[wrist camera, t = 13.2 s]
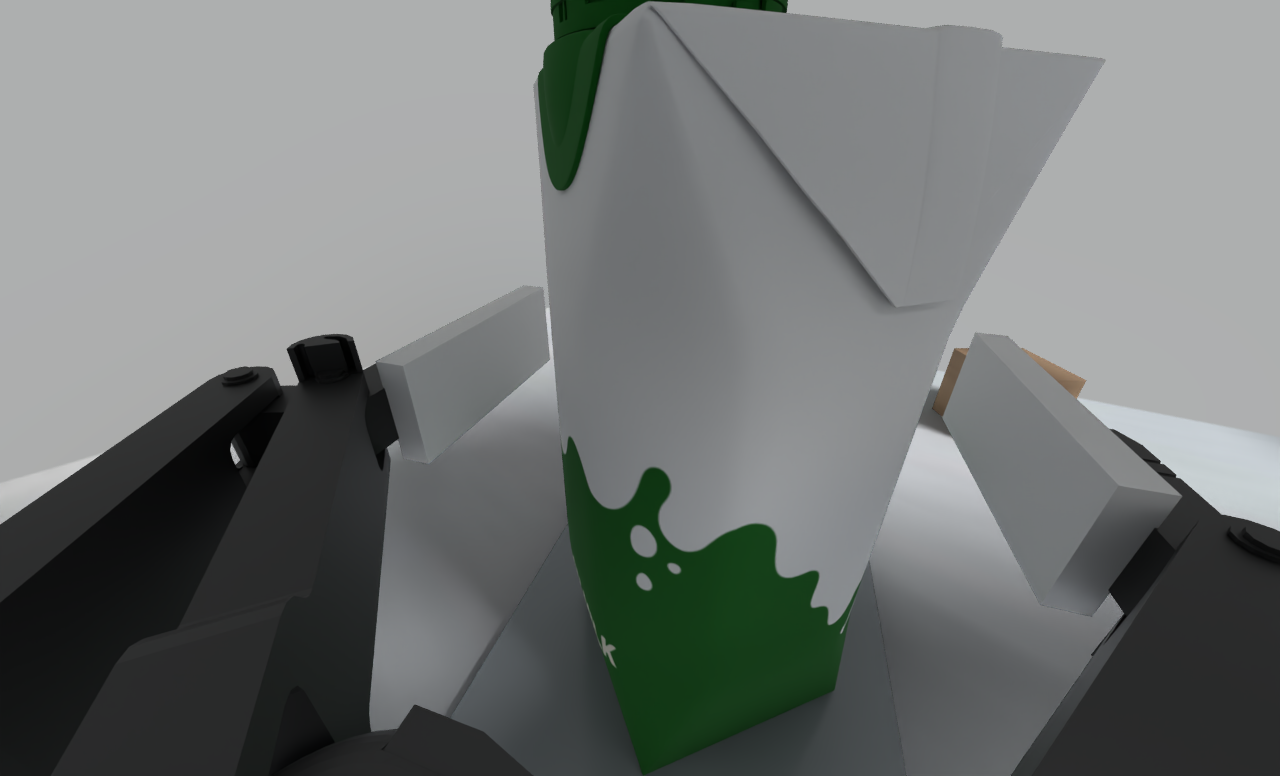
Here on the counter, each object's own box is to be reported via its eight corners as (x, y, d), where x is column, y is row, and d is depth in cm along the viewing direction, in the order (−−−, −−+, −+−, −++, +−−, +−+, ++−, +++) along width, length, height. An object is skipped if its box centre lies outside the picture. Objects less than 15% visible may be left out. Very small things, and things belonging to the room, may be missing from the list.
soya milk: (559, 577, 20) (494, -32, 10) (741, 525, 22) (823, 9, 13) (623, 831, 12) (606, -452, 3) (879, 708, 15) (1293, -154, 6)
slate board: (861, 551, 22) (865, 539, 22) (934, 1014, 10) (946, 1005, 10) (593, 492, 26) (593, 481, 25) (421, 787, 14) (415, 775, 14)
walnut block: (995, 408, 35) (1022, 348, 32) (1050, 447, 30) (1086, 380, 28) (931, 409, 34) (954, 348, 32) (977, 448, 30) (1007, 381, 28)
